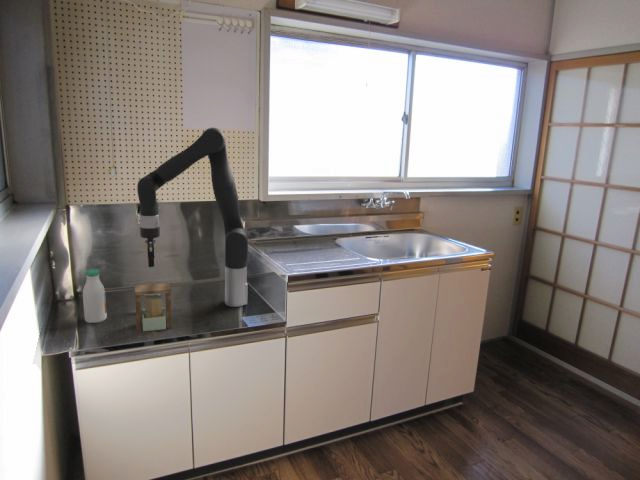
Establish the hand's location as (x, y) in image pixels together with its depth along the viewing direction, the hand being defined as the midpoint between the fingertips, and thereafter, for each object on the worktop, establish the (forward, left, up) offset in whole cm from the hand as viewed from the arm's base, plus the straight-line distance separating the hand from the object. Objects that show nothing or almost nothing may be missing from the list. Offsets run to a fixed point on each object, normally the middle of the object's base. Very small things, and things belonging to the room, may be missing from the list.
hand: (151, 265), depth 191 cm
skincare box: (0, +22, -17) cm, 28 cm away
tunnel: (0, +22, -17) cm, 28 cm away
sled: (0, +16, -17) cm, 23 cm away
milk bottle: (+21, +11, -17) cm, 29 cm away
